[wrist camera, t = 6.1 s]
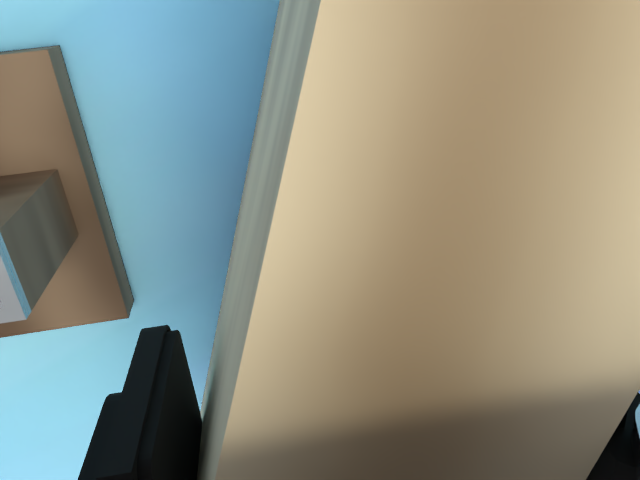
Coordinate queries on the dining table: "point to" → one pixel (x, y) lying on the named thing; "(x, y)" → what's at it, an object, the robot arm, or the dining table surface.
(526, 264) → the oak batten
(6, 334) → the stand
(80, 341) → the dining table surface
